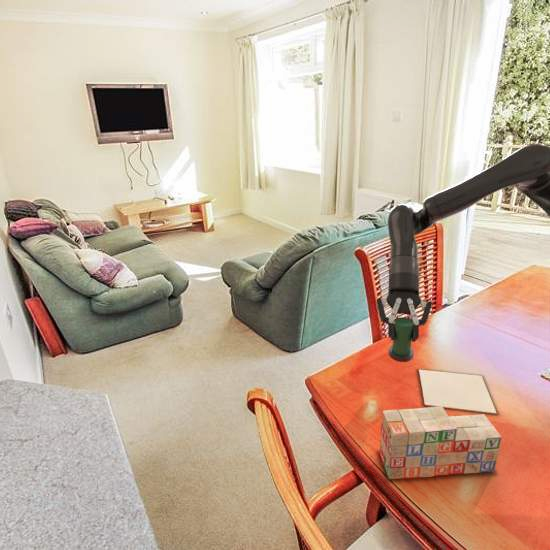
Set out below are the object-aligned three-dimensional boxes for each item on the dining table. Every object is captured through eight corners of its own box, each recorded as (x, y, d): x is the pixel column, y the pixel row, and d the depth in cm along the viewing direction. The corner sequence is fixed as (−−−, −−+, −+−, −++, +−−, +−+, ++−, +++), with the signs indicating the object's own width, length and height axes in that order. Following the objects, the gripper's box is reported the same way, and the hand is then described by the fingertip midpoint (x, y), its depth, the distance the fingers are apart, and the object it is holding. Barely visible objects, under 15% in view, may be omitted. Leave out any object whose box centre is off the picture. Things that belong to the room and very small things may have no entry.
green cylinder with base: (411, 349, 99) (415, 316, 95) (414, 363, 93) (418, 329, 89) (388, 347, 100) (390, 314, 96) (389, 360, 95) (391, 327, 91)
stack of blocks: (477, 446, 80) (487, 402, 76) (494, 472, 75) (506, 425, 70) (378, 453, 80) (382, 409, 75) (388, 480, 74) (392, 433, 70)
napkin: (481, 376, 101) (481, 375, 101) (496, 413, 89) (496, 413, 89) (418, 370, 105) (418, 369, 105) (424, 405, 92) (424, 404, 92)
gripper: (430, 282, 100) (431, 346, 94) (375, 280, 104) (372, 341, 98) (435, 272, 93) (436, 339, 87) (376, 269, 97) (373, 334, 91)
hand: (403, 340), depth 93 cm, fingers closed on green cylinder with base, 4 cm apart
